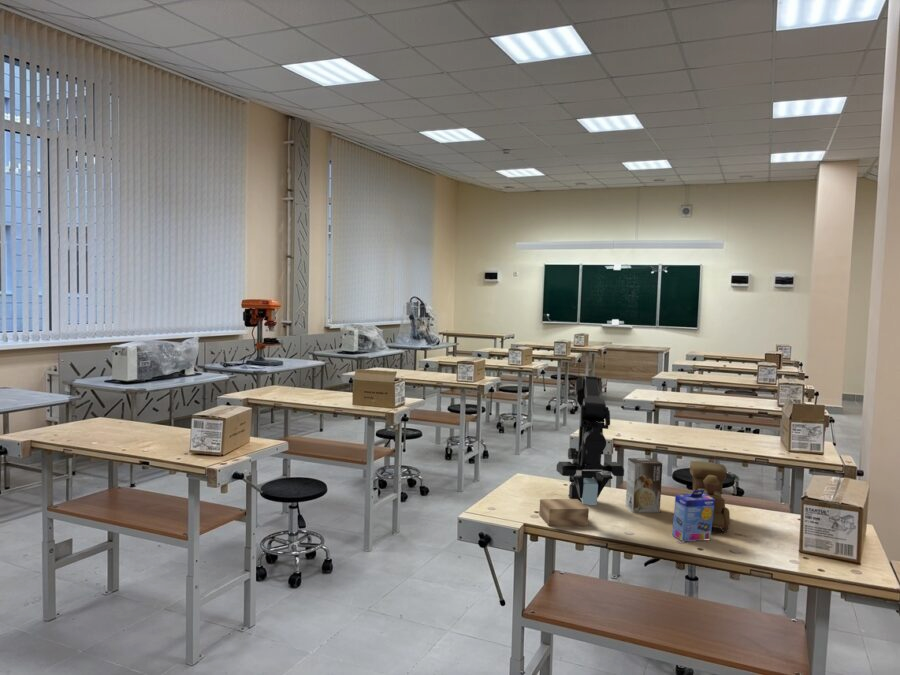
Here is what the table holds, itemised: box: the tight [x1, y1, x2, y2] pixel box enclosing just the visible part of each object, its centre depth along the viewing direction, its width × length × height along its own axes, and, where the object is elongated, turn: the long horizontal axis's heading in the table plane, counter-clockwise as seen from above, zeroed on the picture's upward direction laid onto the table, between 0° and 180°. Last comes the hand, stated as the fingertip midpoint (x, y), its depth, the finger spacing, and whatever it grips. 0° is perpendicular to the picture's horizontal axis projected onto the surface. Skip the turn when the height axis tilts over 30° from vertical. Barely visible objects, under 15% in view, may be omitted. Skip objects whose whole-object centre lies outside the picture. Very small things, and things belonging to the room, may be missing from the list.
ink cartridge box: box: [671, 490, 715, 542], centre depth 177 cm, size 10×6×14 cm, turn 108°
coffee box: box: [625, 457, 664, 513], centre depth 200 cm, size 9×6×16 cm
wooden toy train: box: [689, 460, 731, 532], centre depth 190 cm, size 20×11×17 cm, turn 163°
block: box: [580, 478, 598, 506], centre depth 181 cm, size 4×6×6 cm, turn 175°
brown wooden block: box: [538, 498, 590, 527], centre depth 186 cm, size 12×9×5 cm
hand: (588, 497), depth 181 cm, fingers closed on block, 5 cm apart
